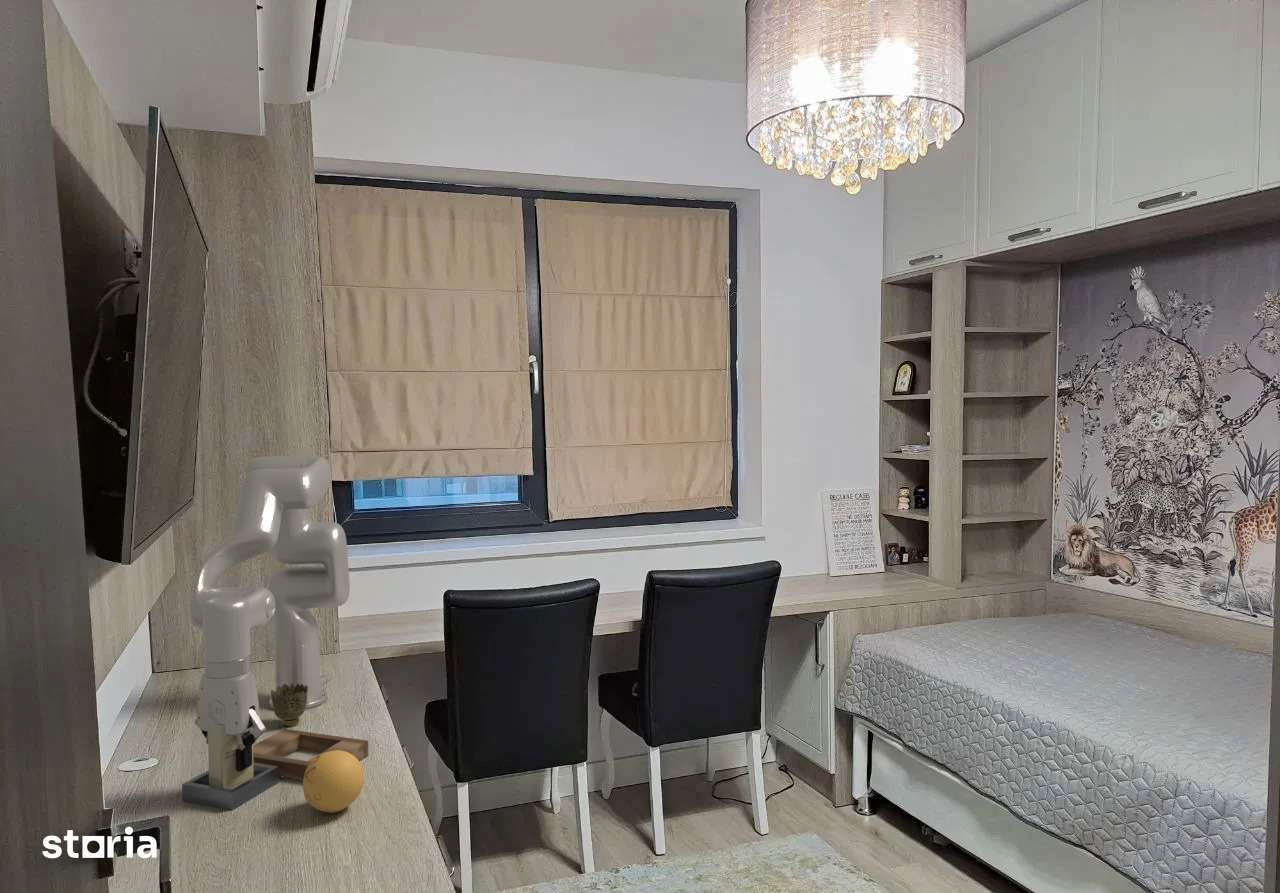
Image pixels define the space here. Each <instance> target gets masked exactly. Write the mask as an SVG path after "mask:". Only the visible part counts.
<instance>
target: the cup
mask: <svg viewBox="0 0 1280 893" xmlns="http://www.w3.org/2000/svg"><path fill="white" fill-rule="evenodd" d="M307 693H308V686H307V685H305V687H304V686H303V684H301V685H300V684H299V683H298V684H296V686H295V687H294V684H293V683H292V684H291V685H290V687H289V686H288V685H287V684H284V685H282V686H281V687H280V686H277V687H276V686H275V690H273V689H271V691H270V695H271V697H272V703H273V708H272V709H273V712H274V714H275V716H276V717H277V718H278V719H280V721H281V722H280V723H281V726H283V727H285V726H291V727H295V726H297V725H298V724H299V723H300V720H301V719H300V717H301V716H302V715H303V714H304V713H305V711H306V709H305V708H306V703H307ZM294 725H295V726H294Z"/></svg>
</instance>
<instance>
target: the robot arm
mask: <svg viewBox="0 0 1280 893" xmlns="http://www.w3.org/2000/svg"><path fill="white" fill-rule="evenodd" d="M331 469H332V468H331V465H330V463H329V462H328V460H327V459H326V458H324V457H323V456H319V455H318V456H316V455H303V456H302V455H301V456H300V455H299V456H298V455H297V456H293V455H292V456H289V455H287V456H286V455H285V456H283V455H282V456H281V455H279V456H278V455H276V456H272V455H271V456H270V455H269V456H259V457H255V458H252V459H250V460H249V461H248V462H247V463H246V465H245V468H244V474H245V476H244V477H243V478H242V481H241V485H240V488H239V489H240V490H239V493H238V498H237V504H236V508H235V509H236V510H235V513H234V517H233V518H234V519H233V522H232V528H231V533H230V534H229V537H228V538H226V539H225V540H224V541H222V542H221V543H220V544H219V545H218V546H216V547H215V548H214V549H213V551H211V553H210V554H208V556H206V558H205V559H204V561H203V562H202V563H201V565H200V566H199V568H198V570H197V572H196V574H195V578H194V583H193V586H192V587H193V588H192V591H191V595H190V600H189V607H188V608H189V612H188V613H189V618H190V621H191V623H192V625H194V626H195V627H197V628H198V629H202V637H203V638H202V639H203V640H202V641H203V659H202V662H201V663H202V665H203V667H204V668H203V672H204V673H203V674H202V675H201V677H200V679H199V680H200V681H199V686H198V693H197V708H196V709H197V711H196V712H197V713H196V716H197V718H196V719H195V721H194V724H195V725H196V727H197V728H198V729H199V730H200V731H201V733H202V735H203V736H204V738H205V739H206V740H205V743H206V745H208V732H214V726H215V724H220V725H224V733H225V734H227V735H235V737H236V740H237V744H238V748H239V749H237V750H236V770H237V771H239V772H241V771H242V770H244V769H246V768H248V767H250V766H251V765H252V744H253V745H255V744H256V741H257V740H259V737H260V736H262V735H263V734H265V732H266V730H267V729H266V727H265V725H264V723H263V721H262V720H261V718H260V703H259V696H258V695H259V694H258V688H257V683H256V678H255V674H254V673H253V672H252V650H251V649H252V648H251V647H252V646H251V644H252V643H251V630H254V629H258V628H262V627H263V626H265V625H266V624H267V623H268V622H269V621H270V620H271V619H272V618H273V628H274V630H273V631H274V661H275V662H274V665H275V667H274V668H275V669H274V670H275V688H276V687H277V686H280V687H281V686H282V685H284V684H287V685H288V686H289V687H290V685H291V684H292V683H293V684H294V687H295V686H296V684H298V683H299V684H300V685H301V684H303V686H304V687H305V685H307V686H308V693H307V703H306V708H305V710H306V709H310V708H314V707H316V706H319V705H321V704H322V703H325V701H326V700H327V699H328V691H326V690H324V689H323V687H324V685H326V684H328V683H329V682H331V681H332V680H333V676H332V674H330V673H327V674H325V675H322V676H320V675H321V674H320V673H321V670H320V669H321V668H320V644H319V643H320V632H319V631H320V630H319V625H318V621H317V619H316V618H315V616H314V615H313V614H312V612H311V611H310V610H309V609H317V608H318V609H319V608H336V607H340V606H343V605H344V604H346V603H347V601H348V599H349V596H350V589H351V588H350V586H351V585H350V583H351V582H350V570H349V556H348V545H347V544H348V543H347V536H346V533H345V532H346V531H345V530H344V528H343V527H342V525H341V524H339V523H337V522H335V521H334V522H333V521H312V519H311V517H310V509H311V508H314V506H316V505H317V504H318V502H319V501H320V500H322V498H323V496H324V495H325V494H326V493H327V491H328V490H329V487H330V486H331V482H332V470H331ZM271 550H272V555H273V557H274V559H275V561H276V562H278V563H280V564H283V565H284V564H285V565H286V564H287V565H304V564H305V565H304V566H290V567H289V566H287V567H283V568H281V569H278V570H276V571H275V572H273V573H272V575H271V576H270V578H269V580H268V588H266V587H262V586H241V587H240V586H232V587H231V586H230V587H226V586H225V587H216V586H217V584H219V581H220V580H221V578H222V576H224V575H225V573H227V572H228V571H230V570H231V569H232V568H234V567H236V566H238V565H240V564H242V563H244V562H247V561H248V560H251V559H253V558H255V557H256V558H257V557H259V556H260V555H262V554H265V553H267V552H269V551H271ZM308 564H309V565H308ZM310 564H311V565H312V564H315V565H316V564H317V565H316V566H313V565H312V566H310ZM318 564H321V565H320V566H319V565H318ZM306 565H308V566H306ZM272 616H273V617H272ZM268 706H269V707H270V708H271V709H273V703H272V696H271V697H270V698H269V700H268ZM252 728H253V731H252ZM244 733H245V734H246V738H245V739H244V737H243V734H244Z"/></svg>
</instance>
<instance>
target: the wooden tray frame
mask: <svg viewBox="0 0 1280 893" xmlns="http://www.w3.org/2000/svg"><path fill="white" fill-rule="evenodd" d="M299 749H300V750H303V749H306V751H310V750H311V751H312V752H317V753H319V754H317V755H315V756H313V757H311V758H310V759H309V760H301V759H295V758H290V757H289V756H291V755H292V753H293V754H294V753H297V752H298V751H300V750H299ZM335 750H340V751H345V752H348V753H350V754H352V755H353V756H355V757H356V758H357V759H358V761H359V762H361V761H363V760H364V759H366V758H367V757H368V756H369V740H366V739H360V738H354V737H345V736H338V735H332V734H331V735H330V734H324V733H318V732H317V733H316V732H311V731H310V732H309V731H303V730H296V729H295V730H294V729H289V728H284V729H282V730H280V731H278V732H276V733H274V734H272V735H270V736H268V737H267V738H265V739H263V740H261V741H259V742H257V743H254V744H253V763H260V764H266V765H272V766H278V773H279V776H283V777H282V778H285V777H288V778H287V779H291V778H295V779H294V780H297V779H301V780H300V781H303V779H304V775H305V770H306V768H307V767H308V765H310V764H311V763H312V762H313V761H314V759H315V758H316V757H317V756H319V755H321V754H323V753H326V752H329V751H335ZM311 751H310V752H311ZM290 754H291V755H290ZM288 755H289V756H288ZM286 756H287V757H286ZM284 757H286V758H284Z"/></svg>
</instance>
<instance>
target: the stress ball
mask: <svg viewBox="0 0 1280 893" xmlns="http://www.w3.org/2000/svg"><path fill="white" fill-rule="evenodd" d="M316 756H317V755H316ZM364 782H365V774H364V768H363V766H362V764H361V761H358V759H357V758H356V757H355V756H353V755H352V754H350V753H348V752H345V751H340V750H335V751H329V752H326V753H323V754H321V755H319V756H317V757H316V758H315V759H314V761H313V762H312V763H311V764H310V765H308V767H307V768H306V770H305V775H304V779H303V780H302V790H303V796H304V799H305V800H306V801H307V803H309V805H310V806H311V807H312V808H314V809H316V810H318V811H321V812H325V813H328V814H336V813H339V812H342V811H343V810H344V809H346V808H347V807H349V806H351V805H352V804H353V803H354V802H355V801H356V800H357V798H358V797H359V796H360V793H361V791H362V789H363V786H364Z"/></svg>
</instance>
